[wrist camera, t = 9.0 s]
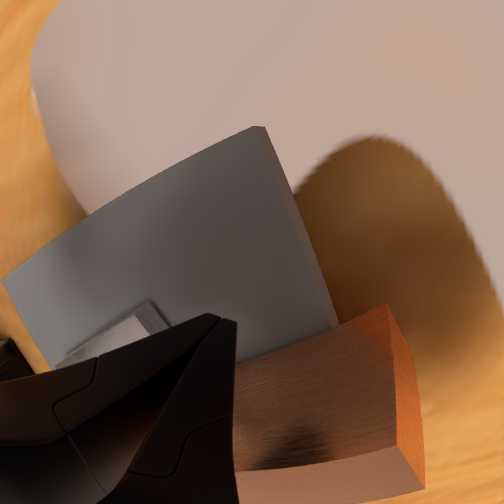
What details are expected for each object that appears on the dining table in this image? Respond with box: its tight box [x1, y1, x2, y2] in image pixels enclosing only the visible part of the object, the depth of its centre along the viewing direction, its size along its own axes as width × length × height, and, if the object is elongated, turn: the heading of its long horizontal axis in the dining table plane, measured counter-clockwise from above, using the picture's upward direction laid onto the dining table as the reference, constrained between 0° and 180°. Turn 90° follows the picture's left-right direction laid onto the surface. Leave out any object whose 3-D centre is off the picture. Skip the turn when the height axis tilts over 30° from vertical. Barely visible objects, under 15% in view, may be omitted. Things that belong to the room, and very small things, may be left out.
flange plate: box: [55, 302, 425, 504], centre depth 10 cm, size 18×10×5 cm, turn 128°
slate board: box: [2, 126, 340, 370], centre depth 14 cm, size 20×20×4 cm
